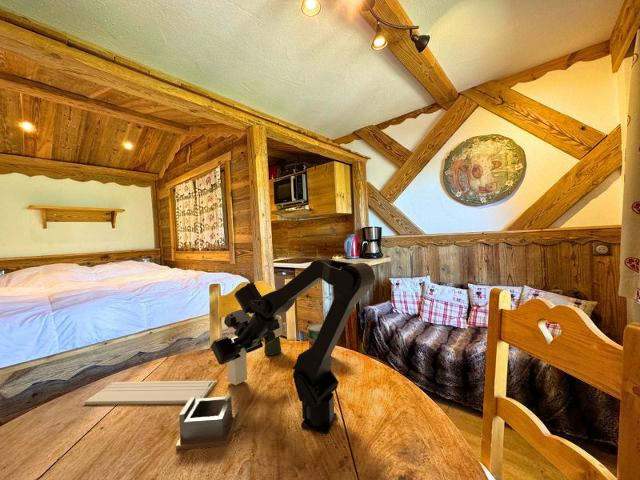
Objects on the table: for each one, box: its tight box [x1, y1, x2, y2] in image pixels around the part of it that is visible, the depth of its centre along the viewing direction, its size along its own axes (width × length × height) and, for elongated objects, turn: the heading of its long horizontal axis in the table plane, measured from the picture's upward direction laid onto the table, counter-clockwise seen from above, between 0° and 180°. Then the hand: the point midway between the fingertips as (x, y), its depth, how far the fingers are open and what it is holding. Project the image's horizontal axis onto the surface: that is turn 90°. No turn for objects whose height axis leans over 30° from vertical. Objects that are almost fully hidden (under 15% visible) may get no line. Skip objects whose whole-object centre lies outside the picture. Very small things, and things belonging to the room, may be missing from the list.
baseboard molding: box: [83, 377, 218, 406], centre depth 76 cm, size 31×3×12 cm
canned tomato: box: [307, 322, 323, 349], centre depth 94 cm, size 8×8×11 cm
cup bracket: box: [175, 395, 238, 451], centre depth 60 cm, size 10×10×6 cm
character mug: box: [263, 315, 288, 356], centre depth 99 cm, size 11×7×13 cm, turn 84°
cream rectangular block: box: [226, 336, 248, 386], centre depth 79 cm, size 4×4×12 cm
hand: (233, 356), depth 80 cm, fingers closed on cream rectangular block, 4 cm apart
